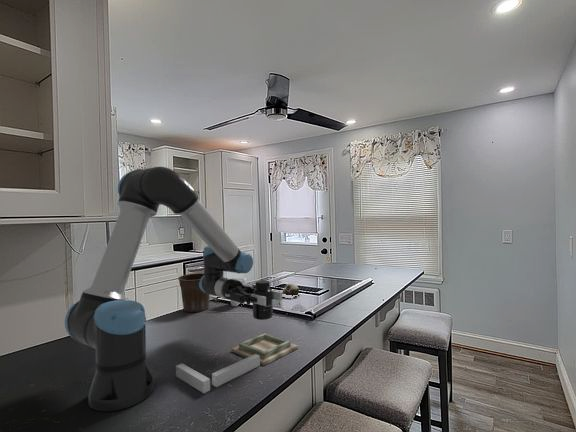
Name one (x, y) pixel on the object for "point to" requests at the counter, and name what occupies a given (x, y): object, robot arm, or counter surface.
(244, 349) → the seating station
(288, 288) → the skull
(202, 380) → the bracket
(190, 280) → the plant pot
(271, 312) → the supplement bottle
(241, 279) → the foam cup
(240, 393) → the counter surface
